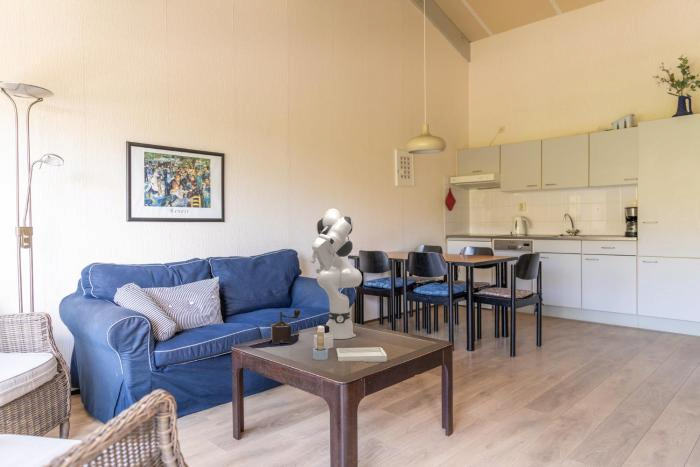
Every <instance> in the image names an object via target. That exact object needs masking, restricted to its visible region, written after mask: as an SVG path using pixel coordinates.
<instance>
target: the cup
mask: <svg viewBox="0 0 700 467" xmlns="http://www.w3.org/2000/svg"><path fill="white" fill-rule="evenodd" d="M312 360H315V361H325V360H329V349H328V348H324V351H317V348H314V347H313V348H312Z"/></svg>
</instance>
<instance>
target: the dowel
mask: <svg viewBox="0 0 700 467" xmlns="http://www.w3.org/2000/svg"><path fill="white" fill-rule="evenodd" d="M316 335H317V351H324V332H323V331H318V330H317V331H316Z"/></svg>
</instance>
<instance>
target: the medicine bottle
mask: <svg viewBox="0 0 700 467" xmlns="http://www.w3.org/2000/svg"><path fill="white" fill-rule="evenodd" d="M318 331H323V332H324V348H328V350H329V349H332V348H334V339H333V335H329V326H327V325H326V324H321V325H318V326H317V332H318ZM314 348H317V334H314V335H313V349H314Z"/></svg>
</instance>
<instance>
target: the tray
mask: <svg viewBox="0 0 700 467" xmlns="http://www.w3.org/2000/svg"><path fill="white" fill-rule="evenodd" d="M336 356H337V359H338V360H337V361H338V362H353V361H354V362H355V361H356V362H359V361H360V362H362V361H365V363H369V364H370V363H388V355H387V353H386V351H385V350H384V349H383V348H382V347H381V346H379V347H376V346H375V347H337V348H336Z"/></svg>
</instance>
